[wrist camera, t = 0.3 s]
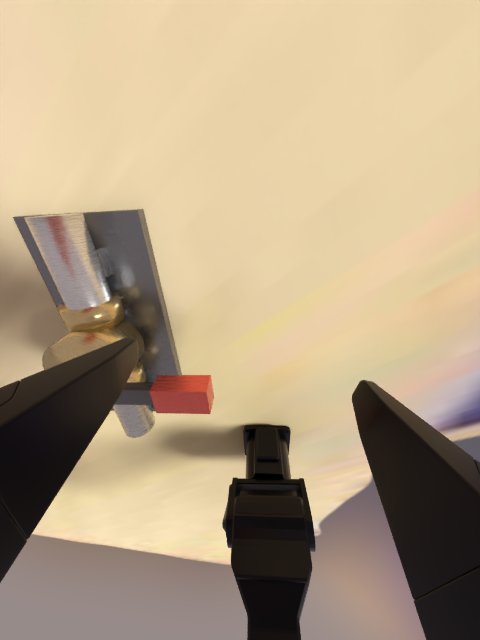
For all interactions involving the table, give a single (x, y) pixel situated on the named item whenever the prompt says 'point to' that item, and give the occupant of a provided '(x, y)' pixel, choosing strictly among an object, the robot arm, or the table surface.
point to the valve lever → (171, 394)
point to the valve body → (105, 293)
